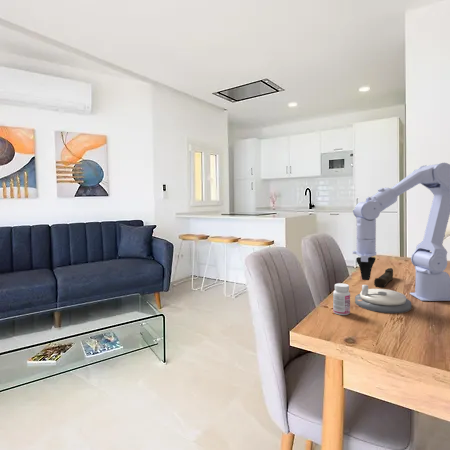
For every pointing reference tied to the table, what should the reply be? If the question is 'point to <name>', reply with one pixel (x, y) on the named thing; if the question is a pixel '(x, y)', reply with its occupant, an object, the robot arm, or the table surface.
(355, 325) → the table surface
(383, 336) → the table surface
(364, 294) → the dial
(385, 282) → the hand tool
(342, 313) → the pill bottle
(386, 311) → the dial base
